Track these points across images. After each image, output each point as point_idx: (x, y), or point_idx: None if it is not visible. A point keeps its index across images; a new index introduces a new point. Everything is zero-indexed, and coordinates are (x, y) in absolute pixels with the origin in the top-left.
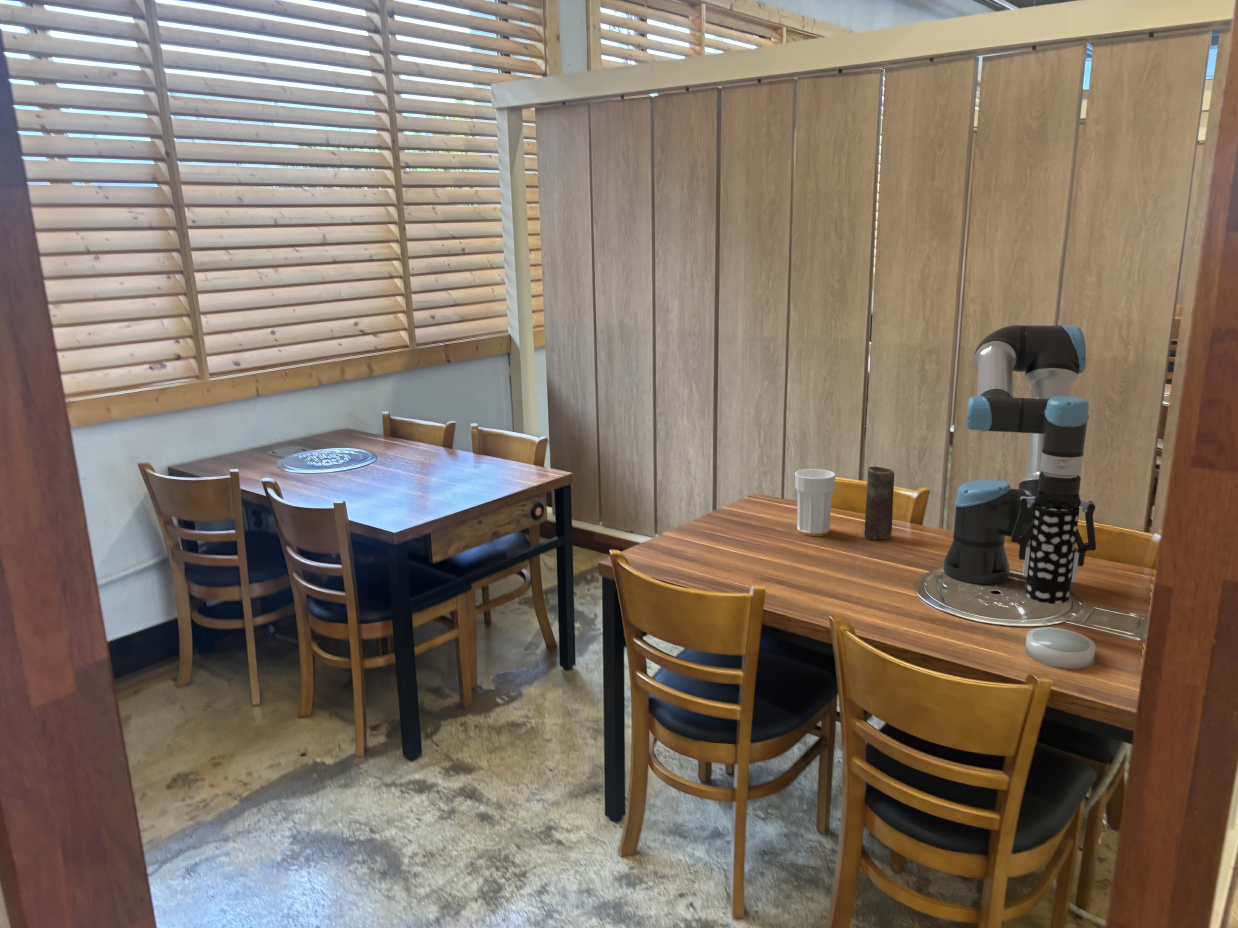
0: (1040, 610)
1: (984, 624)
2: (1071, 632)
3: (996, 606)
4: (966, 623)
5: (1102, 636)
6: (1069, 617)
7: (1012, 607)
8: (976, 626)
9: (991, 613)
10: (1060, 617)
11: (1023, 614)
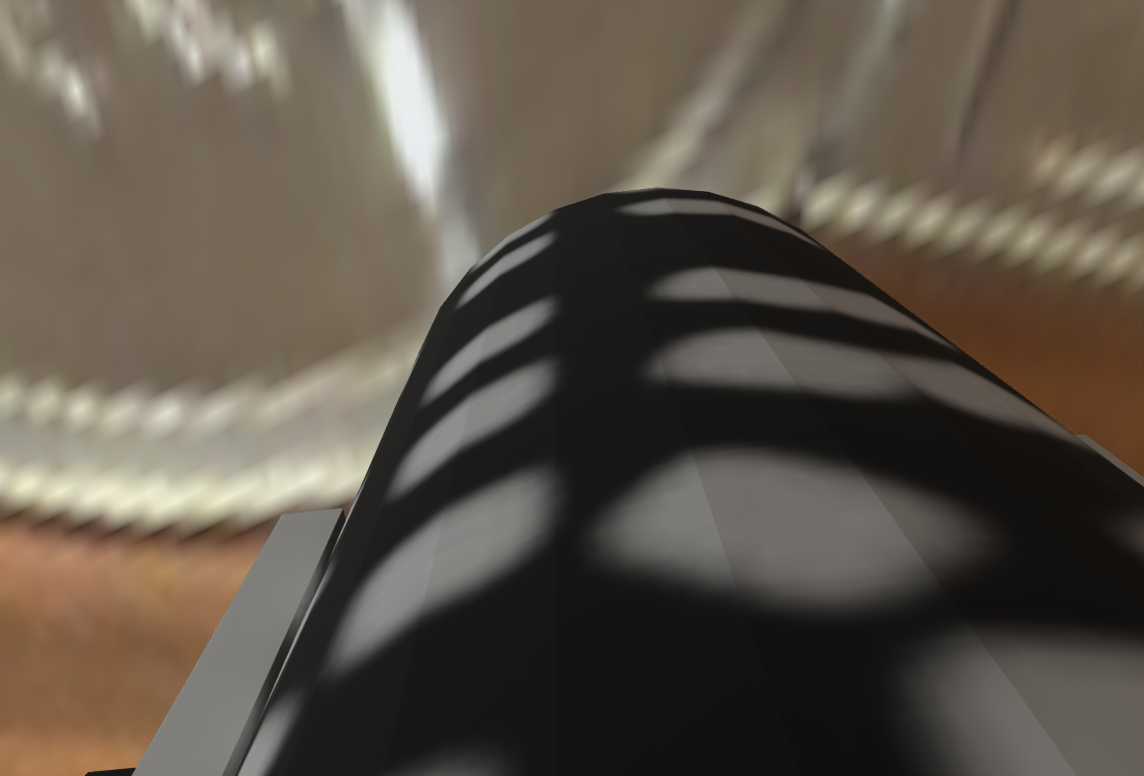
0: (581, 5)
1: (195, 559)
2: None
3: (178, 102)
4: (70, 600)
5: (1067, 385)
6: (844, 68)
7: (321, 54)
8: (153, 620)
9: (183, 306)
10: (763, 110)
11: (443, 195)
